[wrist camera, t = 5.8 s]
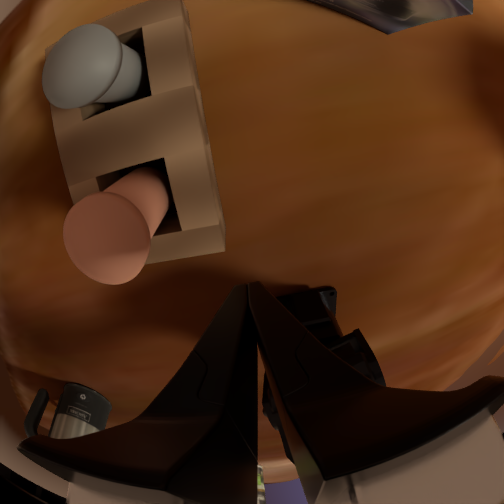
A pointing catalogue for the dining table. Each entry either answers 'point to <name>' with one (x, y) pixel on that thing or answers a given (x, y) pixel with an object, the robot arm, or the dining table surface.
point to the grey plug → (93, 69)
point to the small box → (399, 11)
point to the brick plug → (117, 226)
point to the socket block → (151, 132)
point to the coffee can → (260, 487)
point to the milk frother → (70, 412)
